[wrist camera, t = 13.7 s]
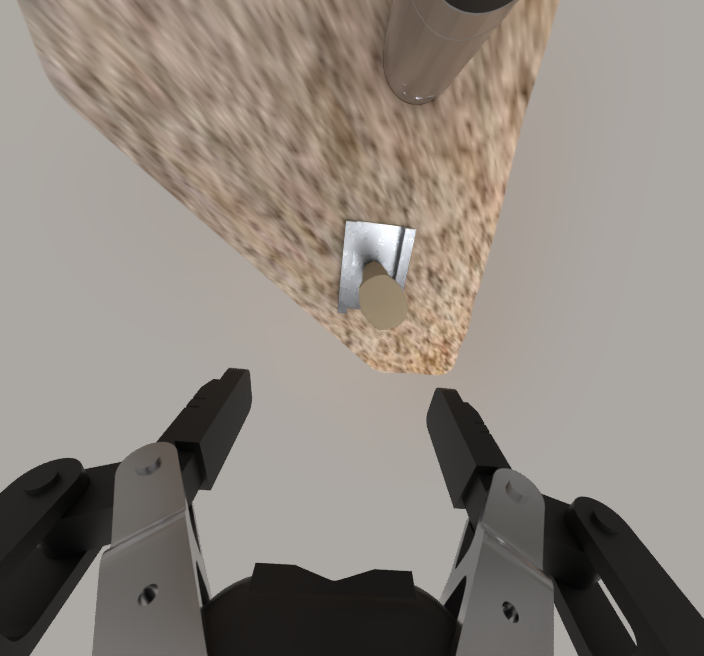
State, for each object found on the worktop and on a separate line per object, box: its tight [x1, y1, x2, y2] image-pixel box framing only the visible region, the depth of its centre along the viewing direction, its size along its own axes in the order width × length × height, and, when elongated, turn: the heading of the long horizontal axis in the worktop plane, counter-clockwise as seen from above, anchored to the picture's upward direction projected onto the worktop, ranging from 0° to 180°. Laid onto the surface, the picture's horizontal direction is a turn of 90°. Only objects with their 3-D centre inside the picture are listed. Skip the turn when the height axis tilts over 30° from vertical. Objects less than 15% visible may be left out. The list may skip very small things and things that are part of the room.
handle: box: [359, 261, 407, 330], centre depth 34 cm, size 5×6×15 cm
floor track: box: [338, 220, 416, 313], centre depth 40 cm, size 14×10×4 cm
